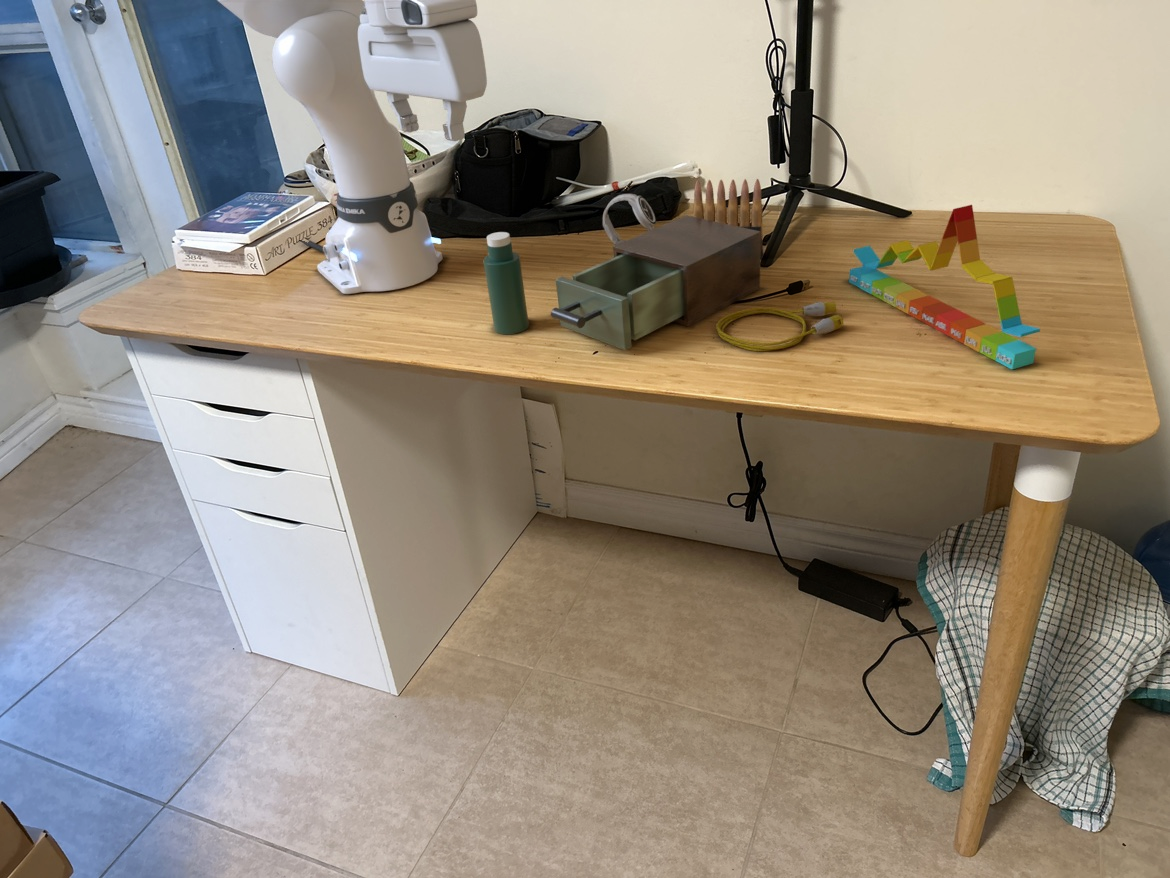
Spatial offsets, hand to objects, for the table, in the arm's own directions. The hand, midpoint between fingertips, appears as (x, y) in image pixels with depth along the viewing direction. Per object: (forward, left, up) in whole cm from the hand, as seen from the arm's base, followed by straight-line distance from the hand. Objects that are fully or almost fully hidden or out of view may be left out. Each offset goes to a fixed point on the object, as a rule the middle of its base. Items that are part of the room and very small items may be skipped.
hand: (432, 135), depth 99 cm
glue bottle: (0, +7, -27) cm, 28 cm away
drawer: (+13, +15, -26) cm, 33 cm away
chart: (+43, +41, -27) cm, 65 cm away
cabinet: (+13, +29, -27) cm, 42 cm away
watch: (-2, +33, -27) cm, 43 cm away
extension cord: (+30, +27, -27) cm, 49 cm away
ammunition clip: (+8, +44, -27) cm, 53 cm away
